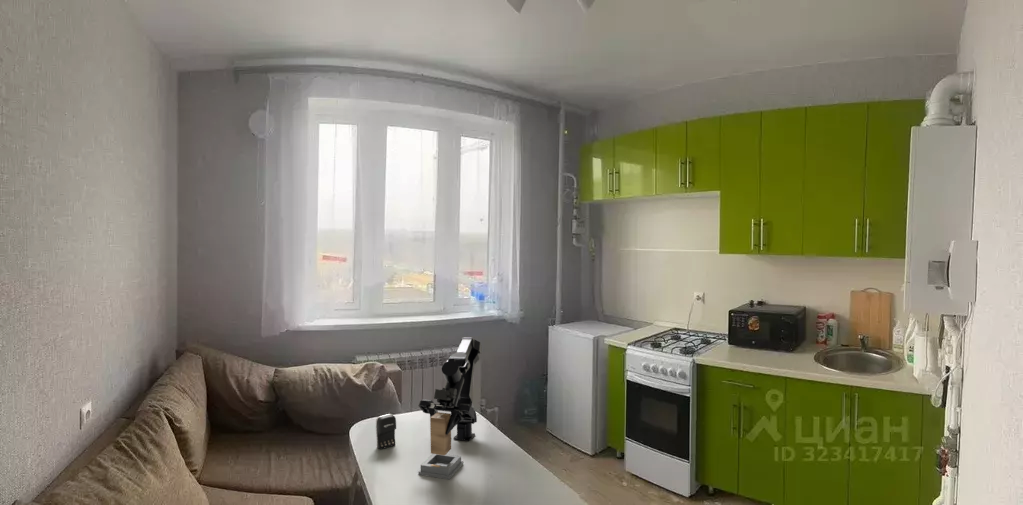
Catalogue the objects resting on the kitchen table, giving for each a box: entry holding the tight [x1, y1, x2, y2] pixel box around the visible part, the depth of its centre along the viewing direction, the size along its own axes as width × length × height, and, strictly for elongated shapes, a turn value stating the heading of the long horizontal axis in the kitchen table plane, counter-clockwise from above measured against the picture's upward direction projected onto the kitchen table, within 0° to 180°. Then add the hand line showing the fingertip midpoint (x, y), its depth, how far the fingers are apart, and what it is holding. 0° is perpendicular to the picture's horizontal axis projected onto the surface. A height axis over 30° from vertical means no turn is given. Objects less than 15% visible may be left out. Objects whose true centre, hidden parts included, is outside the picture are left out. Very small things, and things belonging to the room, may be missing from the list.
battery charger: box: [375, 413, 397, 450], centre depth 185 cm, size 7×4×11 cm, turn 128°
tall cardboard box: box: [429, 411, 452, 455], centre depth 167 cm, size 5×5×12 cm
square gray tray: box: [417, 453, 464, 480], centre depth 167 cm, size 11×11×3 cm
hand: (438, 433), depth 165 cm, fingers closed on tall cardboard box, 5 cm apart
